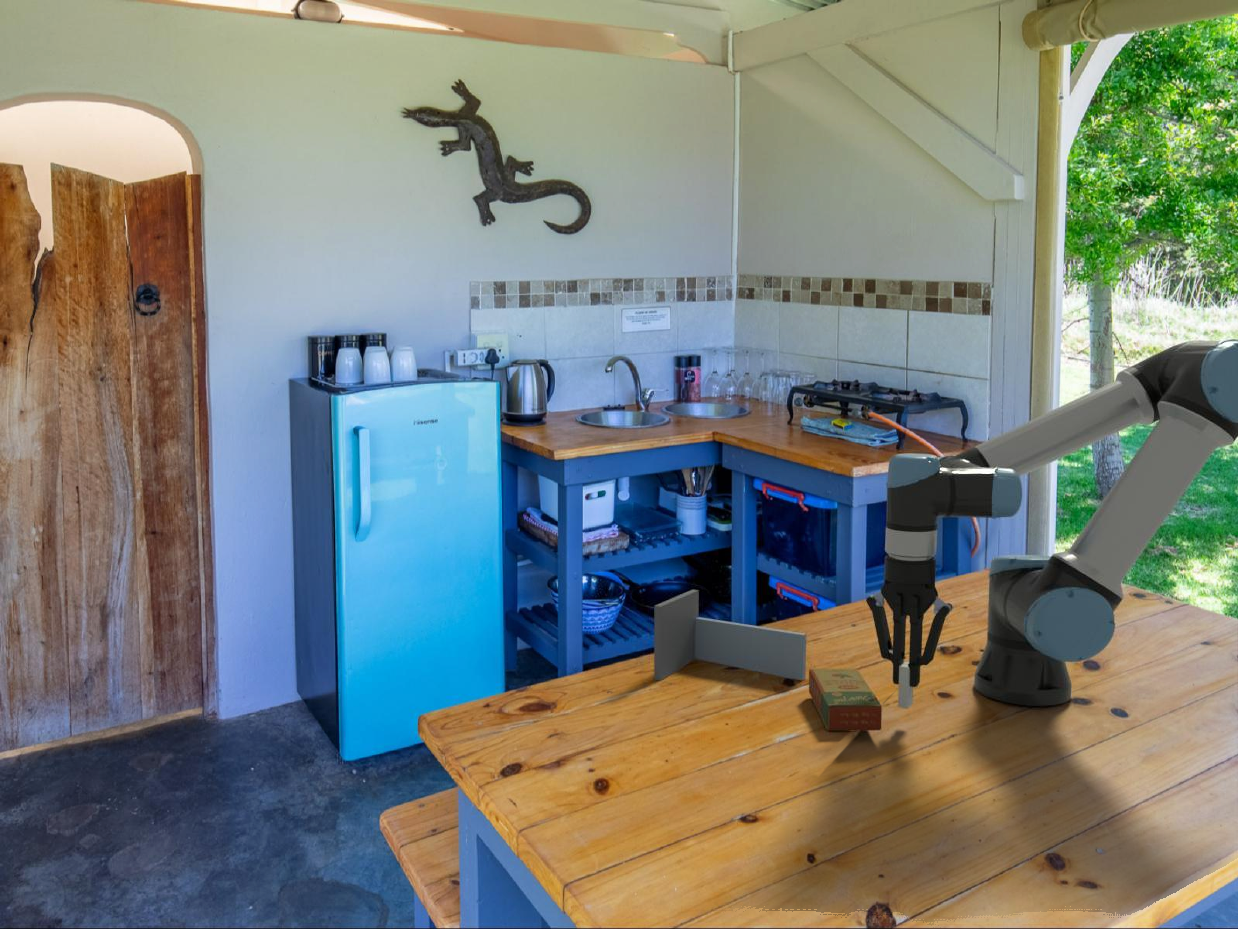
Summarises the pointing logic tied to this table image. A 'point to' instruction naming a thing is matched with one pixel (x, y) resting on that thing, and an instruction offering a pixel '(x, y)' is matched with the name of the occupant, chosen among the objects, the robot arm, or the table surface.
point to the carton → (844, 700)
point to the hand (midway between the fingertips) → (905, 705)
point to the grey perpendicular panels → (721, 642)
